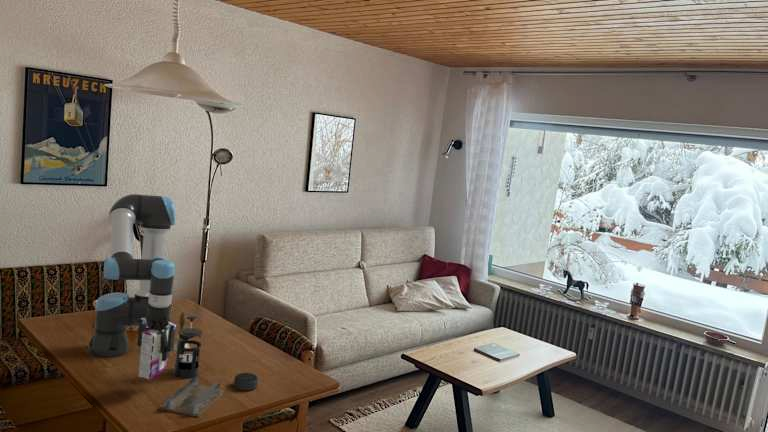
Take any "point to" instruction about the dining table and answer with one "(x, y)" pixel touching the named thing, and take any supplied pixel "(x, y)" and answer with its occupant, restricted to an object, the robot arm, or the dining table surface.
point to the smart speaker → (246, 381)
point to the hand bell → (182, 323)
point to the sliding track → (193, 398)
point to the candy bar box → (151, 354)
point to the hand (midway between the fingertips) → (153, 367)
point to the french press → (188, 359)
